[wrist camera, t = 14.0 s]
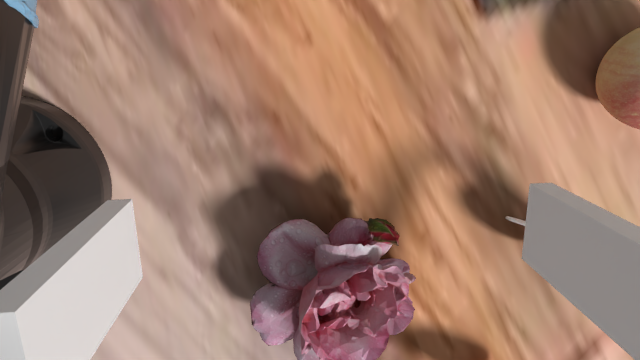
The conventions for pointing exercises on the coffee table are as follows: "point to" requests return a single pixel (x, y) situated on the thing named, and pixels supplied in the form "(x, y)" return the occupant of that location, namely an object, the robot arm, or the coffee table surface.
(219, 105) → the coffee table surface
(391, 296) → the flower
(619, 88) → the apple
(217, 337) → the coffee table surface
